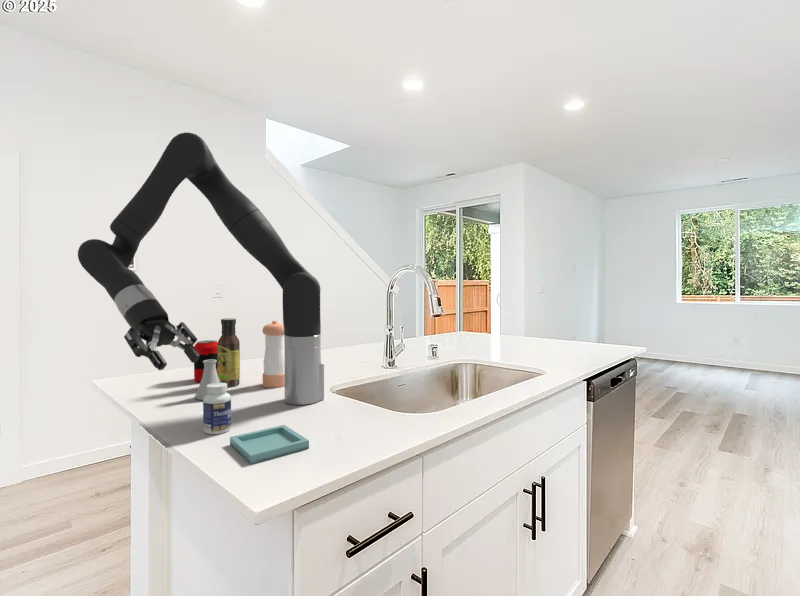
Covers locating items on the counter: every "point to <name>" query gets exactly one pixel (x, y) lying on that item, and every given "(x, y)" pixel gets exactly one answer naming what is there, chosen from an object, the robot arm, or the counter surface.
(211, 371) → the flask
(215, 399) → the pill bottle
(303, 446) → the tray
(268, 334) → the salt shaker
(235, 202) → the robot arm
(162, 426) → the counter surface
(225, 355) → the sauce bottle
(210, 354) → the soda can
